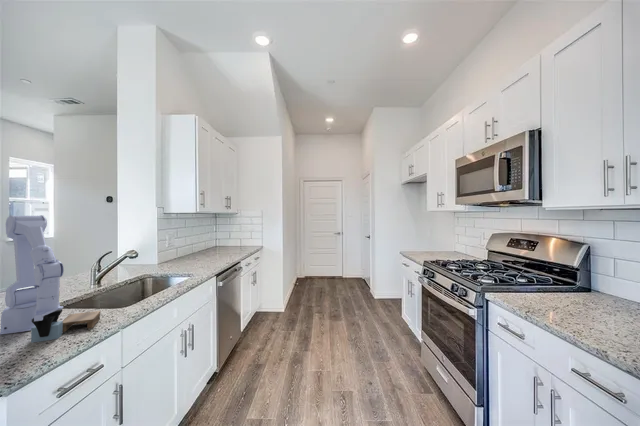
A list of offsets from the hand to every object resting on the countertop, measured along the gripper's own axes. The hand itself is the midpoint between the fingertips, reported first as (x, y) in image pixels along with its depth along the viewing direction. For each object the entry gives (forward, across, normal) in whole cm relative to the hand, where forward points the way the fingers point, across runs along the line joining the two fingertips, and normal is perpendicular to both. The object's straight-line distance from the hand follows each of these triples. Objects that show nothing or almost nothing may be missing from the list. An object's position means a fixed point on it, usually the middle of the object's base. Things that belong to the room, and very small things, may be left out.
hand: (47, 333), depth 96 cm
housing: (+2, 0, 0) cm, 2 cm away
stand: (+2, +9, -7) cm, 12 cm away
